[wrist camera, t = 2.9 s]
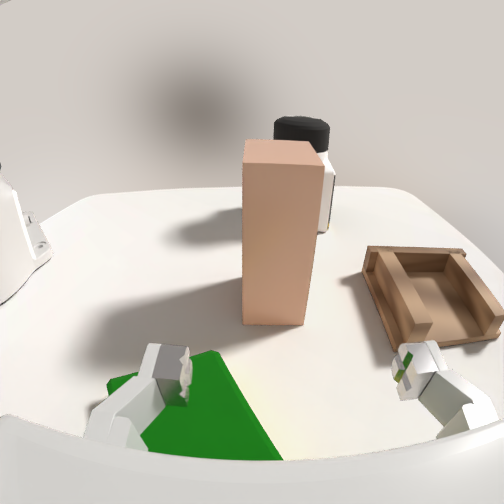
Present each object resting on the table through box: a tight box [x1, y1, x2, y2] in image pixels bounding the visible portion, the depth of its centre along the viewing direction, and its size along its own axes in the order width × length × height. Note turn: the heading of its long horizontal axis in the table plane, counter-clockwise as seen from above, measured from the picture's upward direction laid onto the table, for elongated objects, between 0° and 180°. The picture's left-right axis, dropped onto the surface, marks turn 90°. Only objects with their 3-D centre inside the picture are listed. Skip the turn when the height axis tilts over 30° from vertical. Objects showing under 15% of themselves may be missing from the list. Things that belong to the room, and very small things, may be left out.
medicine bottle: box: [274, 116, 335, 232], centre depth 35 cm, size 7×7×12 cm
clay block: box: [242, 139, 325, 325], centre depth 23 cm, size 6×4×12 cm
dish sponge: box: [107, 350, 283, 461], centre depth 13 cm, size 7×14×2 cm, turn 26°
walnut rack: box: [362, 246, 504, 352], centre depth 24 cm, size 10×11×3 cm
